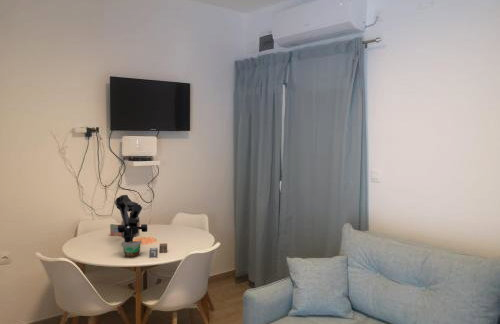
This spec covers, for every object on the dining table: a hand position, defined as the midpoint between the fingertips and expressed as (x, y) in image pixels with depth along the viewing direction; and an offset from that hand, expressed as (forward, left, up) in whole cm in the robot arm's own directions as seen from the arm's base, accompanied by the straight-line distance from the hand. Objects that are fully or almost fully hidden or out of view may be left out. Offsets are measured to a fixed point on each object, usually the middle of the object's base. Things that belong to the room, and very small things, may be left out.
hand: (131, 239), depth 242 cm
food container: (+1, 0, -11) cm, 11 cm away
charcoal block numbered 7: (+2, +14, -11) cm, 18 cm away
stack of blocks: (-51, -11, -11) cm, 54 cm away
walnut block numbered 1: (-7, +20, -11) cm, 24 cm away
